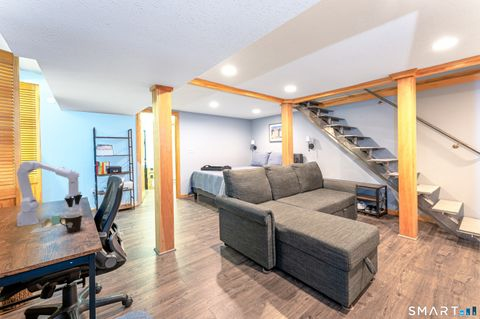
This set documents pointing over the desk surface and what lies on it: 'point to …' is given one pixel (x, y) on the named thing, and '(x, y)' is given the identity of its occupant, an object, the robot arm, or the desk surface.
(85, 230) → the desk surface
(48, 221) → the tan shallow tray
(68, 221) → the coffee mug
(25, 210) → the robot arm
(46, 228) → the pad
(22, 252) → the desk surface
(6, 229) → the desk surface
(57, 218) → the block
